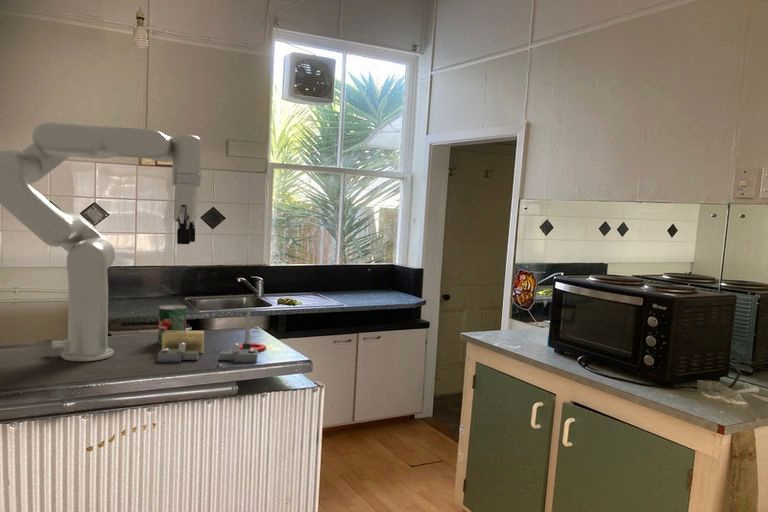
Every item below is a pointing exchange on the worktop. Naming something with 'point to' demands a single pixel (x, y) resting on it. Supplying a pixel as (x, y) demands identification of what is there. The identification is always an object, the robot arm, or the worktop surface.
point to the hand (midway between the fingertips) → (186, 242)
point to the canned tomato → (171, 319)
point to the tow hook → (247, 337)
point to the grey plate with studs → (182, 354)
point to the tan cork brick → (183, 339)
